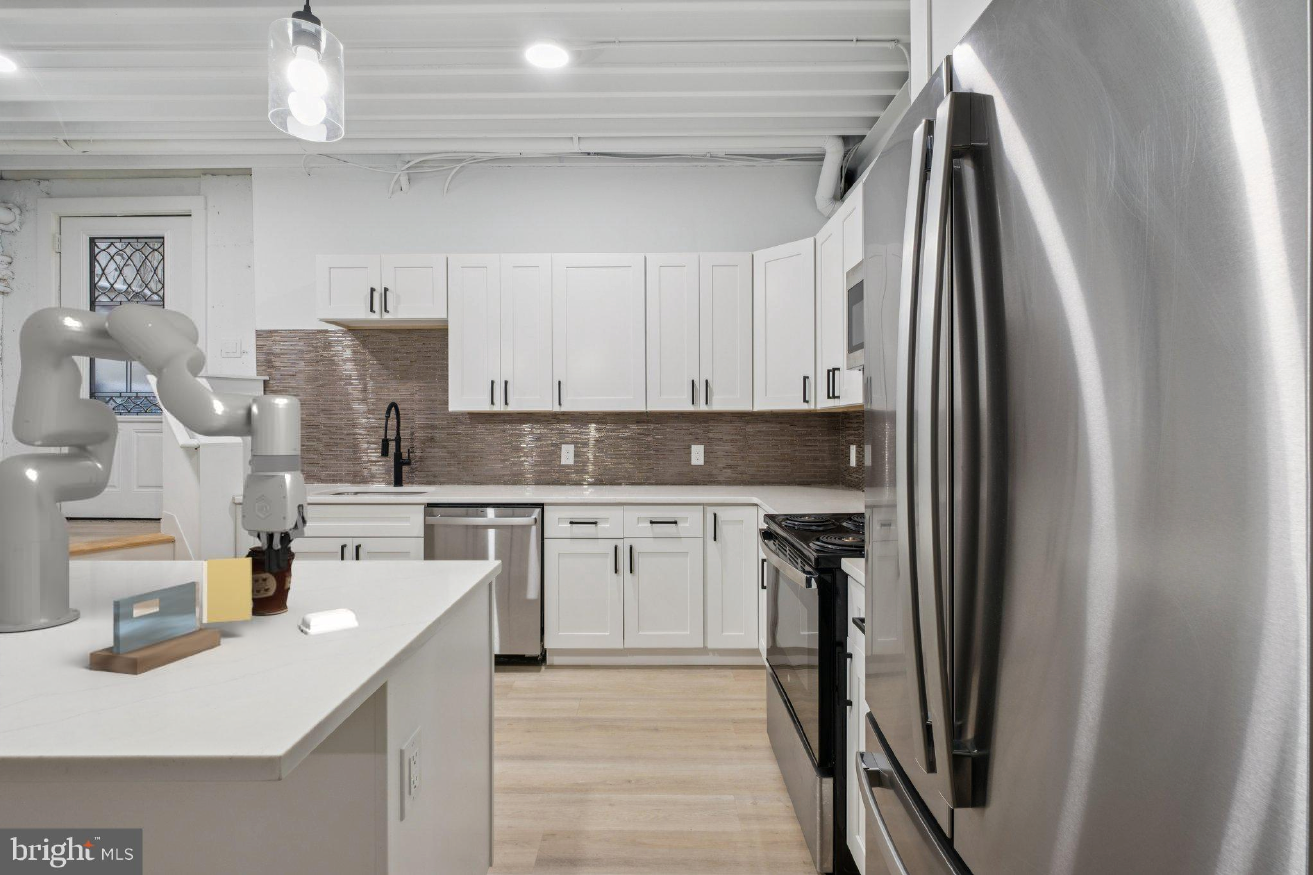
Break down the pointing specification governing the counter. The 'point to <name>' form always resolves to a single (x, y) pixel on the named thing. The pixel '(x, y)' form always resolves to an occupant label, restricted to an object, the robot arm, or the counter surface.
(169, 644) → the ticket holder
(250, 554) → the coffee cup
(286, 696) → the counter surface
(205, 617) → the yellow flat slab
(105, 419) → the robot arm
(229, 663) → the counter surface
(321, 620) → the soap
